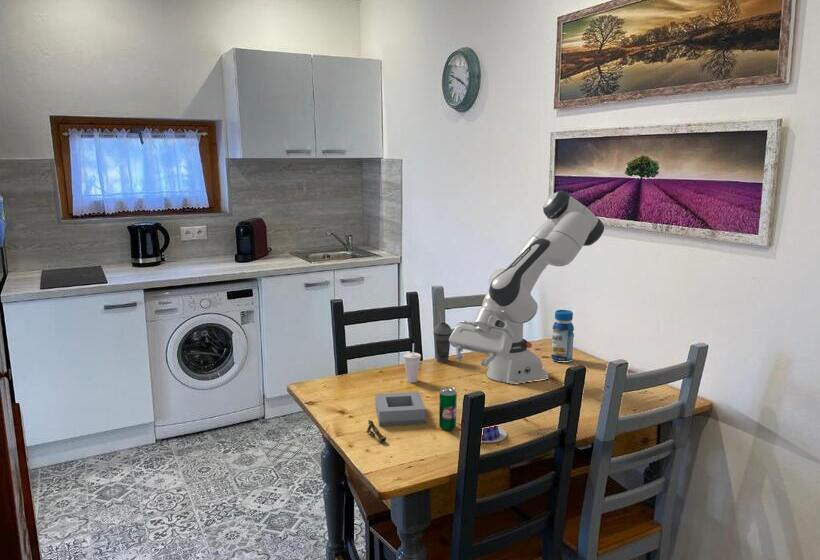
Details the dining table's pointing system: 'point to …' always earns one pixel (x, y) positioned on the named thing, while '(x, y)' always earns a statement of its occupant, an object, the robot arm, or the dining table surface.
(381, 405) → the block
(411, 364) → the smoothie
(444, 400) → the soda can
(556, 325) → the beverage bottle
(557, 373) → the dining table surface
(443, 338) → the beverage cup
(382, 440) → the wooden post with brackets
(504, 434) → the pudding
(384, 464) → the dining table surface
